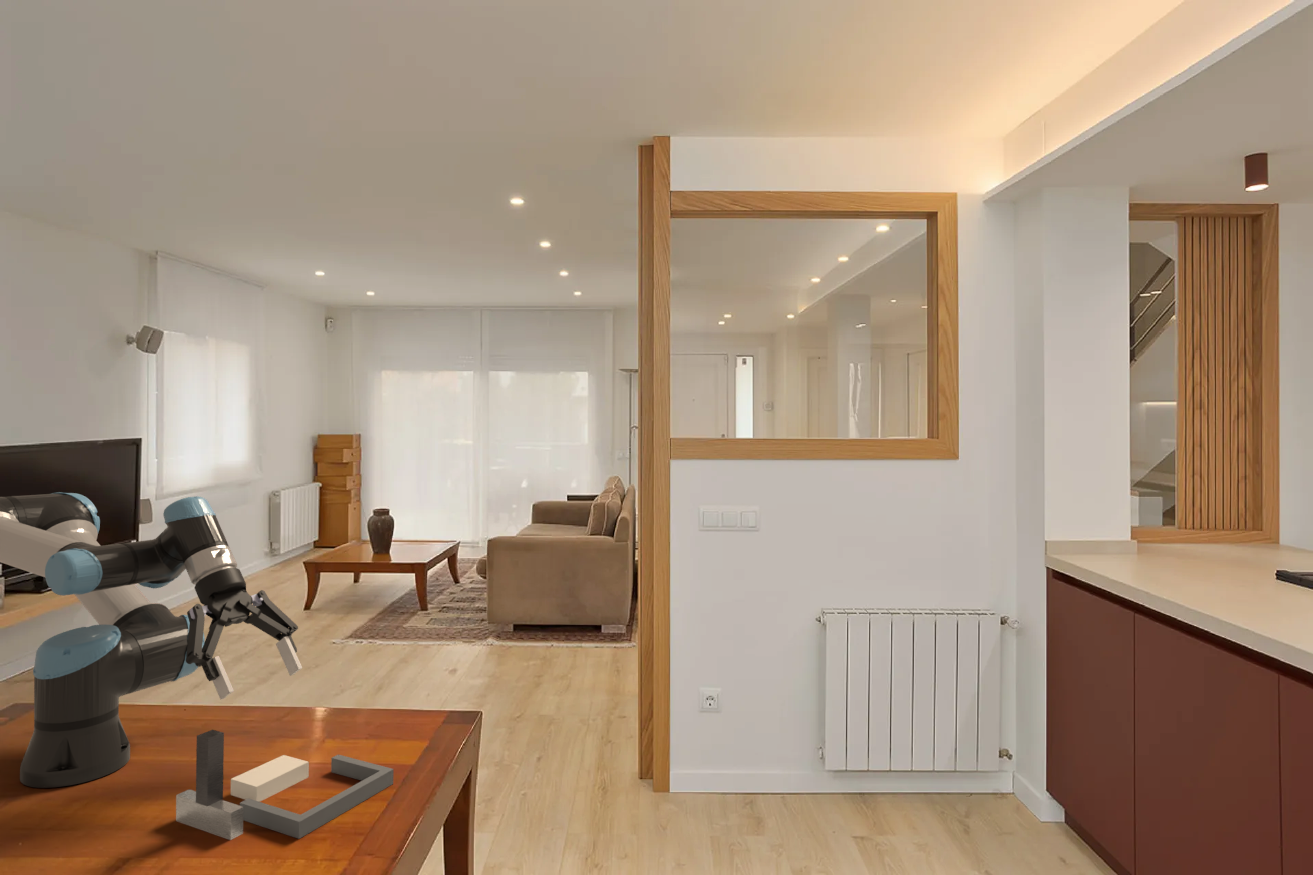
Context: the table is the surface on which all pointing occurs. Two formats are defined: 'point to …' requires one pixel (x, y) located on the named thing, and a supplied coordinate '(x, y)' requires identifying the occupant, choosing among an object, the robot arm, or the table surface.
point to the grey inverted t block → (209, 792)
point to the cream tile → (269, 778)
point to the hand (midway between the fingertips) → (263, 683)
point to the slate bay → (301, 825)
